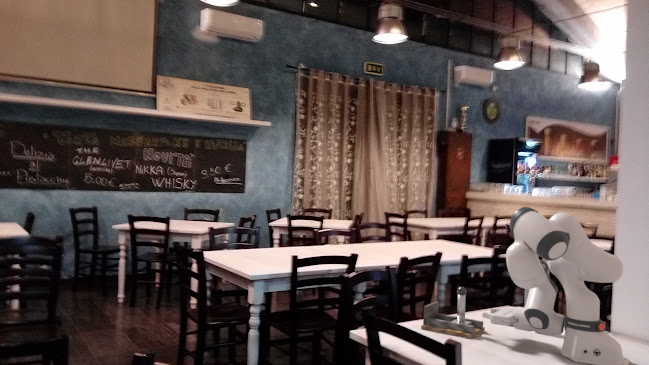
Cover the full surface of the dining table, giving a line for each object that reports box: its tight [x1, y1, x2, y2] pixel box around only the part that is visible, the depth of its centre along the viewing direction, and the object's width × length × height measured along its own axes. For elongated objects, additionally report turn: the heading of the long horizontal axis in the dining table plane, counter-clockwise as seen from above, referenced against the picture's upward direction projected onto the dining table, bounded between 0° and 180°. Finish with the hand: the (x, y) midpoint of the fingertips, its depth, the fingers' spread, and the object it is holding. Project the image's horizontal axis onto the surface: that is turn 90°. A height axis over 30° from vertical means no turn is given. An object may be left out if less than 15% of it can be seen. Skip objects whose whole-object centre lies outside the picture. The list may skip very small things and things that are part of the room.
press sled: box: [451, 286, 472, 326], centre depth 230 cm, size 7×8×17 cm
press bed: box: [420, 301, 486, 340], centre depth 232 cm, size 22×16×10 cm
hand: (487, 312), depth 223 cm, fingers open, 8 cm apart
